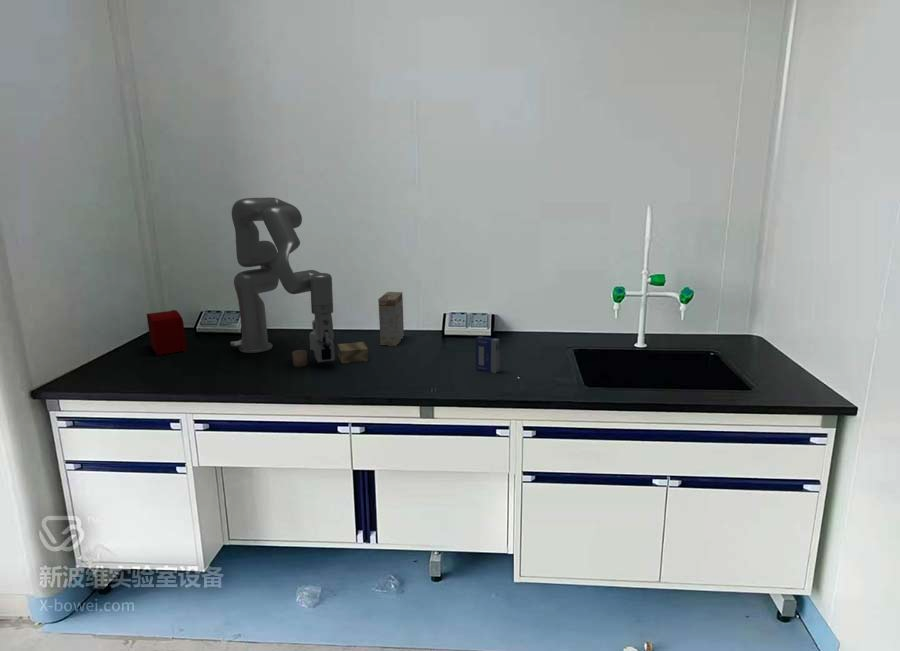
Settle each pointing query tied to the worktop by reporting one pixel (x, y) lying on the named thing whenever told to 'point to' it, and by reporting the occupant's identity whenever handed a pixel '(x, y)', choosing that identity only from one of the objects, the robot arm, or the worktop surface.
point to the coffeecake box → (391, 318)
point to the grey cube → (319, 353)
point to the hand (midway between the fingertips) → (324, 356)
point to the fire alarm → (166, 332)
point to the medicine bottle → (313, 336)
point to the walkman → (487, 354)
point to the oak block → (353, 352)
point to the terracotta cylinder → (299, 358)
